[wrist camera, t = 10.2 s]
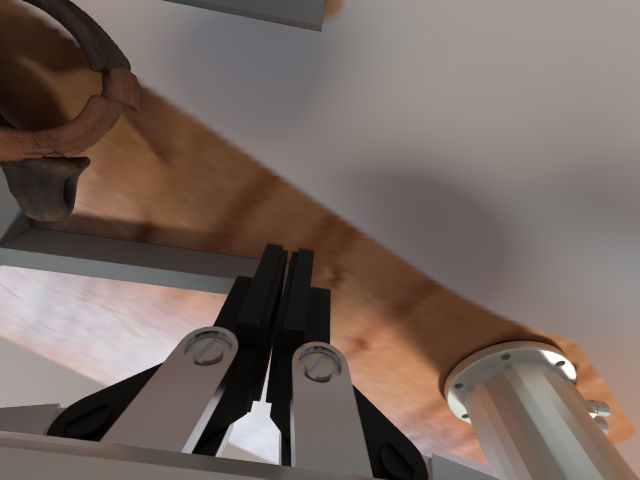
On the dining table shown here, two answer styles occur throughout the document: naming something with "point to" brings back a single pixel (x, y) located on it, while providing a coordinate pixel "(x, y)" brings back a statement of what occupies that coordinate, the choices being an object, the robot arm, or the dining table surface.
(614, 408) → the dining table surface
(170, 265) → the bay
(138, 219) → the dining table surface
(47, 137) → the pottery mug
